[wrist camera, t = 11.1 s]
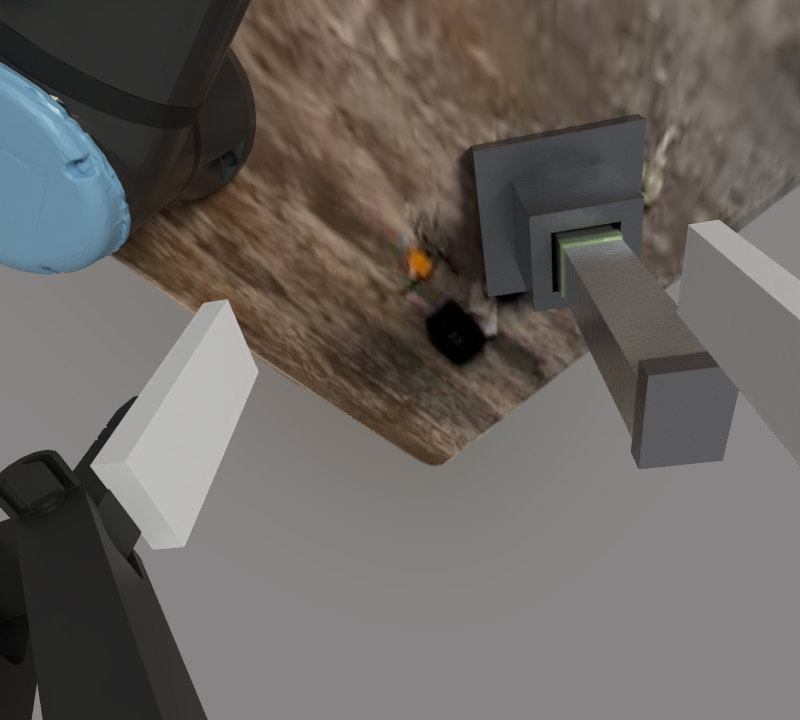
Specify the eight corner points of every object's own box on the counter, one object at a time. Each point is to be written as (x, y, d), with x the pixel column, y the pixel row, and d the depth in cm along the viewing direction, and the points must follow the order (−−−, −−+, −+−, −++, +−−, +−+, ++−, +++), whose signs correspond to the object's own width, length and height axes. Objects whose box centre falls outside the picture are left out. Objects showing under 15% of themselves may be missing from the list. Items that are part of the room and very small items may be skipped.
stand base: (486, 287, 53) (499, 346, 44) (471, 146, 45) (483, 183, 36) (628, 265, 51) (672, 323, 42) (637, 114, 44) (694, 145, 35)
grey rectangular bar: (549, 281, 44) (635, 469, 26) (547, 212, 40) (644, 376, 23) (602, 273, 43) (725, 460, 26) (605, 202, 40) (748, 363, 22)
